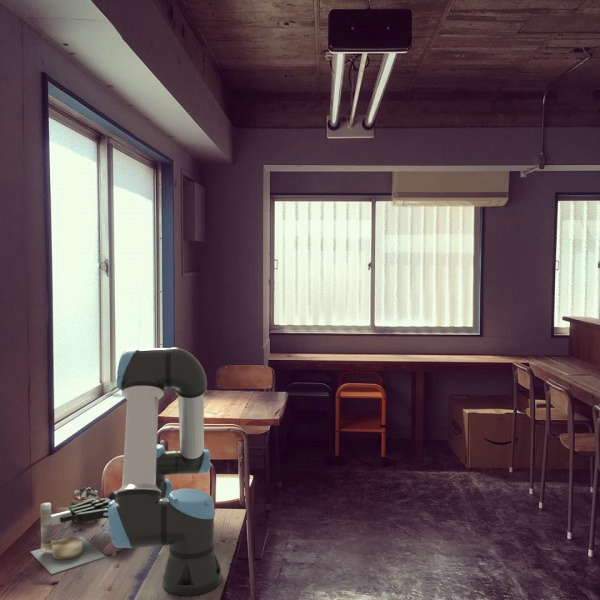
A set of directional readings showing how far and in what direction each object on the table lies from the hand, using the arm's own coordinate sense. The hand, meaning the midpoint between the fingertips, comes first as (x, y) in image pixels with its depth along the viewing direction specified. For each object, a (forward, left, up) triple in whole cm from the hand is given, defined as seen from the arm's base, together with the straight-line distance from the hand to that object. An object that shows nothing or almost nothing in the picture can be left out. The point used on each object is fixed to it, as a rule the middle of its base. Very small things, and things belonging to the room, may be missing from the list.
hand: (47, 521), depth 177 cm
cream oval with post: (-5, -2, -8) cm, 10 cm away
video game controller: (-13, -16, -9) cm, 22 cm away
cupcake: (+14, -17, -9) cm, 24 cm away
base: (-7, -3, -8) cm, 11 cm away
